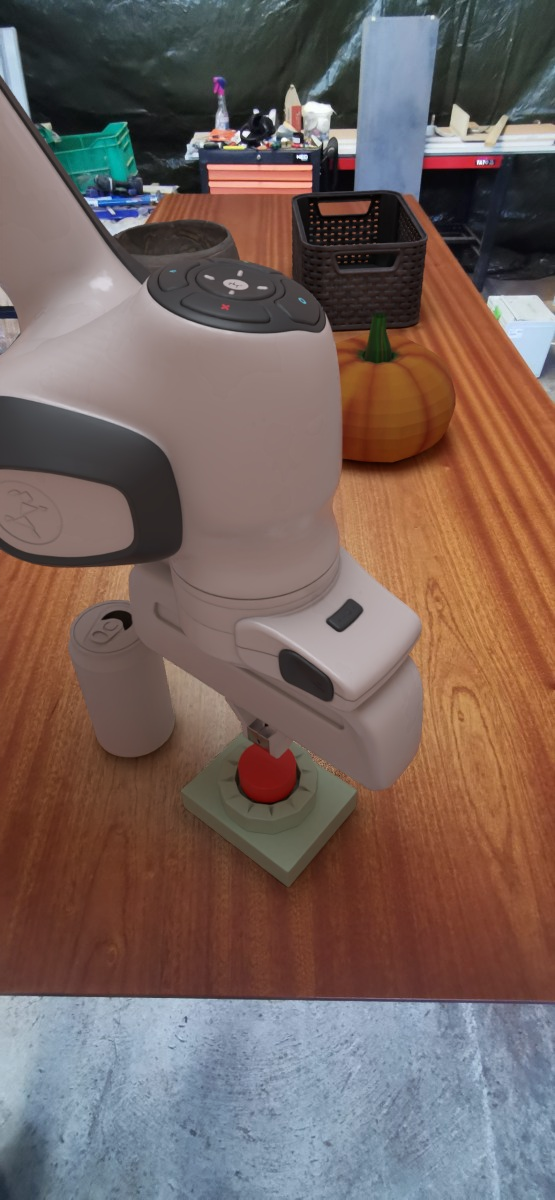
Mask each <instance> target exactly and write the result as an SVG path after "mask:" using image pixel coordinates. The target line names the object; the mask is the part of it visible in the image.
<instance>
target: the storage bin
mask: <svg viewBox="0 0 555 1200" xmlns="http://www.w3.org/2000/svg"><path fill="white" fill-rule="evenodd" d="M290 201H291V202H290V203H291V263H292V265H291V277H292V280H294V281H295V282H297V283H298V284H300V285H302V286H303V287H304V288H305V289H307V290H308V291H309V292H310V293H311V294H312V295H313V296H314V297H315V298H316V300H317V301H318V302H319V304H320V305H321V306H322V308H323V310H324V312H325V314H326V316H327V318H328V321H329V323H330V326H331V329H332V332H337V331H356V330H359V331H360V330H370V328H371V323H372V318H373V315H374V314H376V313H383V314H385V315H386V329H400V328H403V327H409V326H413V325H415V324H417V323H418V322H419V321H420V316H421V315H420V311H421V306H422V303H421V302H422V294H423V283H424V273H425V268H426V263H425V262H426V255H427V244H428V240H429V235H428V233H427V231H426V230H425V228H424V226H423V224H422V223H421V221H420V220H419V218H418V217H417V216H416V214H415V213H414V211H413V209H412V207H411V206H410V204H409V203H408V201H407V200H406V198H405V197H404V194H402V193H401V192H400V191H397V190H392V189H391V190H390V189H372V190H371V189H369V190H352V191H351V190H349V191H347V190H346V191H326V192H325V191H324V192H322V191H321V192H305V193H304V192H303V193H299V194H296V195H294V196H292V197H291V199H290ZM357 202H359V203H360V202H370V203H369V206H368V208H367V211H366V212H363V213H343V214H341V213H340V214H322V213H321V209H320V206H319V204H330V203H331V204H335V203H357Z"/></svg>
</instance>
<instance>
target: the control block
mask: <svg viewBox="0 0 555 1200" xmlns="http://www.w3.org/2000/svg"><path fill="white" fill-rule="evenodd" d="M253 744H254V743H253V742H251V741H249V740H248V739H246V738H245V737H243V735H242V731H241V732H240V733H239V734H238V735H237V736H236V737H235V738H234V739H233V740H232V741H231V742H229V744H227V746H226V747H224V749H222V750H221V751H220V752H219V753H218V754H217V755H216V756H215V757H214V758H213V759H212V760H211V761H210V762H209V763H208V764H207V765H206V766H205V767H203V768H202V769H201V771H199V772H198V773H197V774H196V775H195V776H194V777H193V778H192V779H191V780H190V781H189V782H188V783H187V784H186V785H185V786H184V787H182V789H181V790H180V794H181V799H182V804H183V807H184V808H185V809H186V810H187V811H188V812H190V813H191V814H192V815H194V816H195V817H196V818H197V819H199V820H200V821H202V822H203V823H204V824H205V825H206V826H208V827H209V828H210V829H212V830H213V831H214V832H216V833H217V834H218V835H219V836H221V837H222V838H224V839H225V840H226V841H227V842H228V843H230V844H231V845H233V846H234V847H235V848H236V849H237V850H239V851H240V852H241V853H243V854H244V855H245V856H246V857H248V858H249V859H250V860H252V861H253V862H255V863H256V864H257V865H259V866H260V867H261V868H262V869H263V870H265V871H266V872H267V873H269V874H270V875H271V876H273V878H275V879H277V880H278V881H279V882H280V883H282V884H283V885H284V886H286V887H287V888H290V887H291V886H292V885H293V883H294V882H295V880H297V878H298V877H300V875H301V874H302V873H303V871H304V870H305V869H306V868H307V866H308V865H310V863H311V862H312V861H313V860H314V858H315V857H316V856H317V855H318V853H319V852H320V851H321V850H322V849H323V847H324V846H325V845H326V844H327V843H328V842H329V840H330V839H331V838H332V837H333V836H334V834H335V833H336V832H337V831H338V829H339V828H340V827H341V826H342V825H343V823H344V822H345V821H346V820H347V818H348V817H349V816H350V815H351V814H352V812H353V811H355V809H356V808H357V802H358V790H357V788H355V787H353V786H352V785H351V784H349V783H347V782H346V781H344V780H343V779H341V778H340V777H338V776H337V775H335V774H334V773H332V772H331V771H330V770H327V769H326V768H324V767H323V766H321V765H320V764H318V763H317V762H316V761H314V759H313V758H312V756H311V754H310V751H308V750H307V749H305V748H304V747H302V746H301V745H299V744H298V743H296V742H294V741H292V743H291V745H290V747H289V749H290V750H291V752H292V753H293V755H294V757H295V760H296V784H295V786H294V788H293V790H292V791H291V793H290V794H289V795H288V796H286V797H285V798H283V799H282V800H279V801H277V802H272V803H262V802H258V801H255V800H253V799H251V798H250V797H248V796H247V795H246V794H245V793H244V791H243V790H242V788H241V785H240V779H239V770H238V763H239V759H240V756H241V755H242V753H243V752H244V751H245V750H246V749H247V748H248V747H249V746H251V745H253Z"/></svg>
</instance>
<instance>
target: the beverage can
mask: <svg viewBox="0 0 555 1200" xmlns="http://www.w3.org/2000/svg"><path fill="white" fill-rule="evenodd" d="M67 647H68V648H67V649H68V654H69V657H70V660H71V663H72V666H73V669H74V671H75V672H74V673H75V676H76V678H77V682H78V685H79V688H80V691H81V694H82V697H83V700H84V703H85V706H86V709H87V713H88V716H89V719H90V722H91V725H92V728H93V731H94V734H95V738H96V740H97V742H98V745H100V746H101V748H102V749H103V750H105V751H106V752H107V753H109V754H110V755H114V756H116V757H120V758H137V757H142V756H146V755H148V754H150V753H152V752H155V751H156V750H158V749H160V748H161V747H162V746H163V745H164V744H165V743H166V742H167V741H168V740H169V739H170V737H171V735H172V733H173V731H174V728H175V724H176V723H175V722H176V717H175V711H174V707H173V702H172V696H171V691H170V686H169V681H168V676H167V670H166V666H165V661H164V657H162V656H161V655H159V654H157V653H156V652H154V651H153V650H151V649H149V648H148V647H147V646H145V645H144V643H143V642H142V641H141V639H140V638H139V636H138V635H137V633H136V631H135V629H134V626H133V622H132V615H131V608H130V600H127V599H126V600H125V599H109V600H103V601H100V602H97V603H95V604H91V605H90V606H88V607H87V608H85V609H83V610H82V611H81V612H80V613H78V615H76V617H75V618H74V619H73V621H72V623H71V625H70V627H69V639H68V644H67Z"/></svg>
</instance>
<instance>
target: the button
mask: <svg viewBox="0 0 555 1200" xmlns="http://www.w3.org/2000/svg"><path fill="white" fill-rule="evenodd" d="M238 770H239V779H240V785H241V788H242V790H243V791H244V793H245V794H246V795H247V796H248V797H250V798H251V799H253V800H255V801H258V802H262V803H272V802H277V801H279V800H282V799H283V798H285V797H286V796H288V795H289V794H290V793H291V791H292V790H293V788H294V786H295V784H296V760H295V757H294V755H293V753H292V752H291V750H290V749H289V748H288V749H287V750H286V751H285V752H284V753H283V754H282V755H281V756H280V757H279V758H275V757H273V756H272V755H270V754H269V753H268V752H266V751H265V750H263V749H262V748H260V747H259V746H257V745H256V744H253V745H251V746H249V747H248V748H247V749H246V750H245V751H244V752H243V753H242V755H241V756H240V759H239V763H238Z"/></svg>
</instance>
